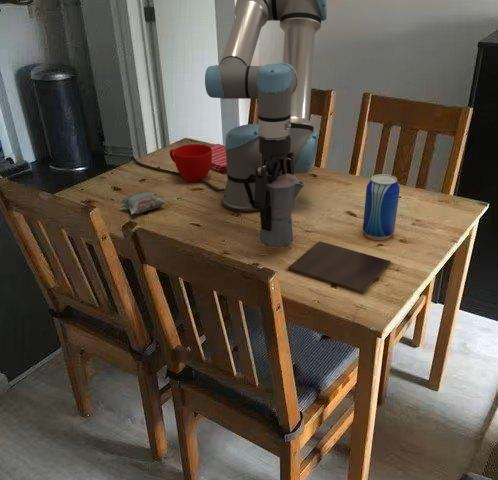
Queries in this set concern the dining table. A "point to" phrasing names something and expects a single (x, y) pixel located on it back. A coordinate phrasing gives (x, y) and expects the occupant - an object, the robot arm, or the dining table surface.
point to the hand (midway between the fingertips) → (275, 222)
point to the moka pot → (278, 208)
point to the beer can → (381, 207)
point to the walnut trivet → (340, 266)
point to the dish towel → (219, 158)
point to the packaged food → (142, 202)
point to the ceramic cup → (192, 161)
